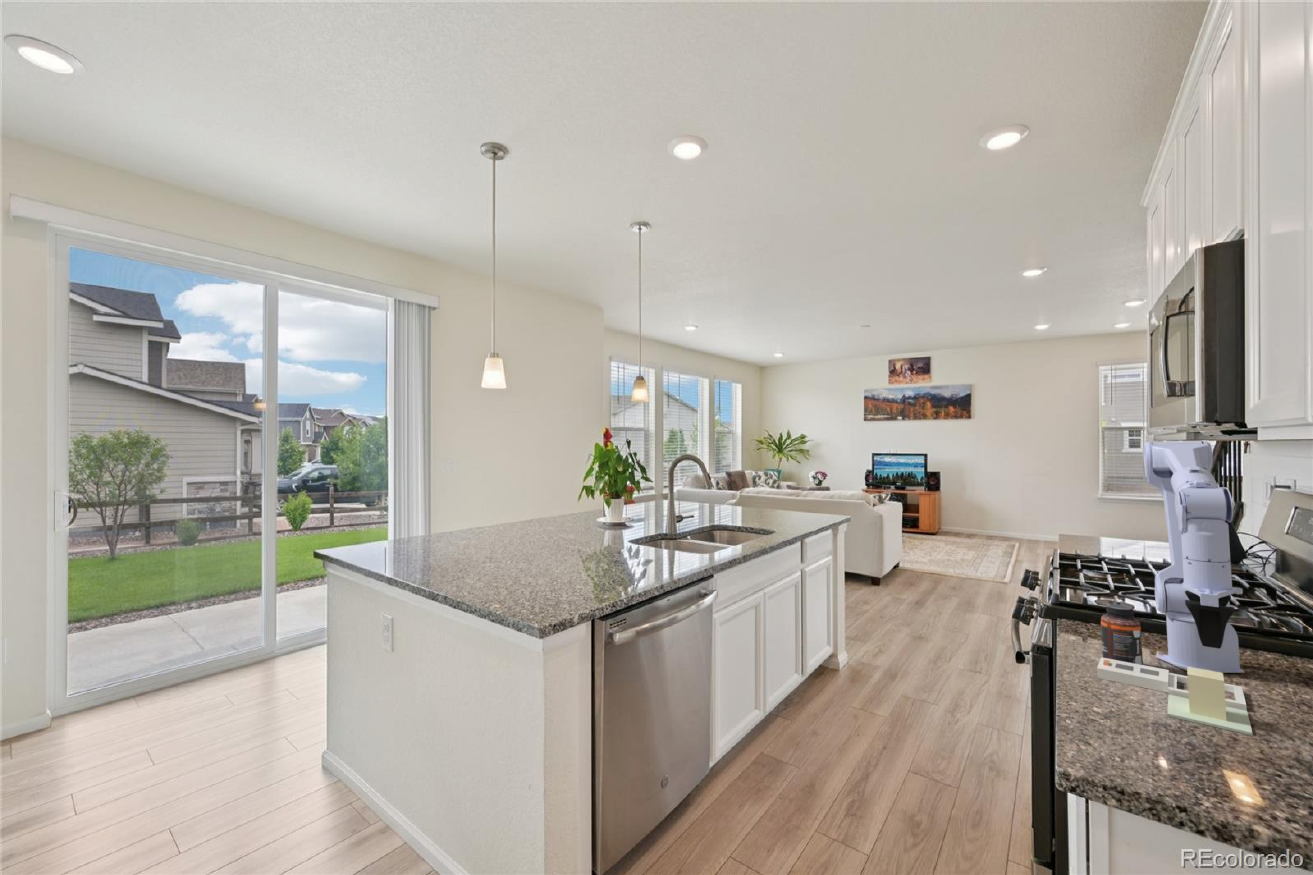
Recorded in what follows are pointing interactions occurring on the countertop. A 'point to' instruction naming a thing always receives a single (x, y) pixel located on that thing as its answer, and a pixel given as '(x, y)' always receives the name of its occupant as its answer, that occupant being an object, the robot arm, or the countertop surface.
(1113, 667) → the white slotted frame
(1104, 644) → the supplement bottle
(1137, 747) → the countertop surface
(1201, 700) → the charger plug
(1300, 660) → the countertop surface
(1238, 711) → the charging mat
